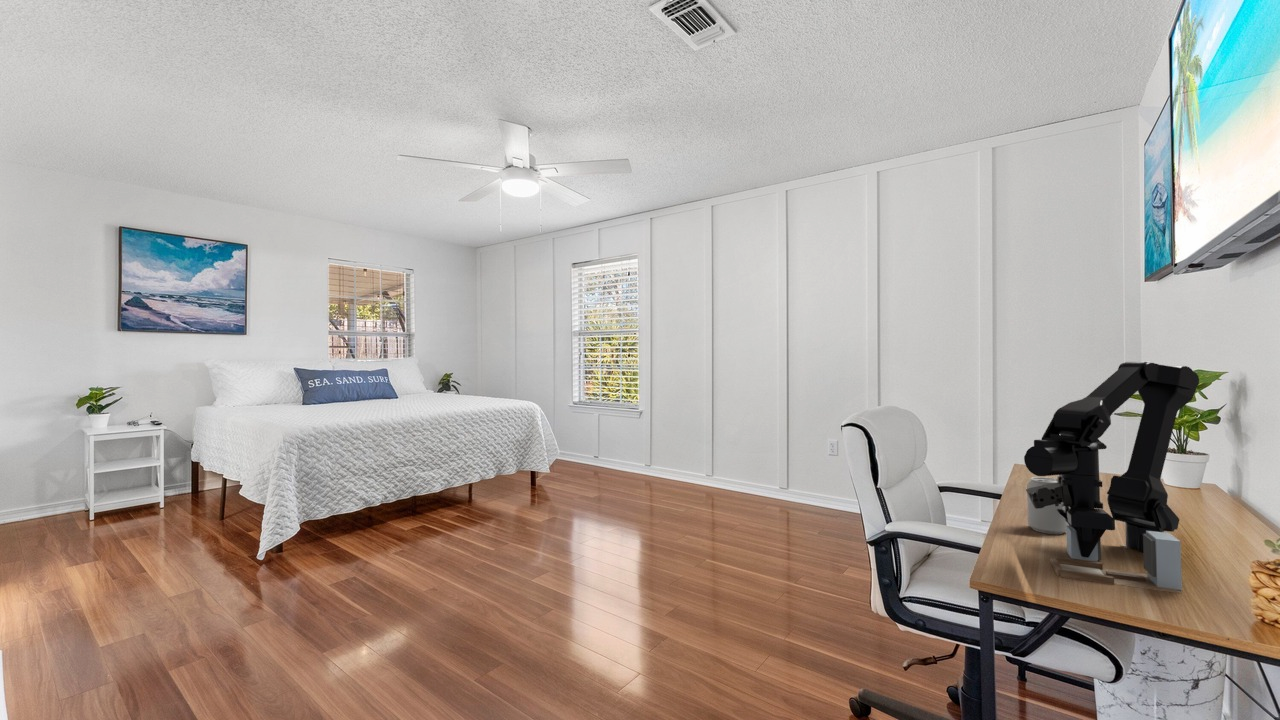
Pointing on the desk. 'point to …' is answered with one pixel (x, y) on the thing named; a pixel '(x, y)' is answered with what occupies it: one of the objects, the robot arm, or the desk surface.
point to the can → (1045, 511)
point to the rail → (1102, 574)
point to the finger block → (1074, 547)
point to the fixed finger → (1162, 559)
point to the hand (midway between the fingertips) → (1082, 553)
